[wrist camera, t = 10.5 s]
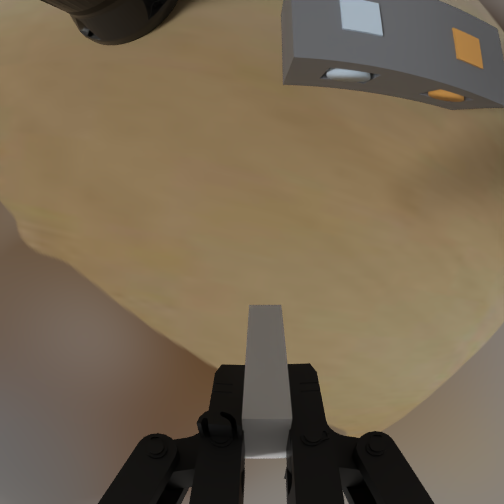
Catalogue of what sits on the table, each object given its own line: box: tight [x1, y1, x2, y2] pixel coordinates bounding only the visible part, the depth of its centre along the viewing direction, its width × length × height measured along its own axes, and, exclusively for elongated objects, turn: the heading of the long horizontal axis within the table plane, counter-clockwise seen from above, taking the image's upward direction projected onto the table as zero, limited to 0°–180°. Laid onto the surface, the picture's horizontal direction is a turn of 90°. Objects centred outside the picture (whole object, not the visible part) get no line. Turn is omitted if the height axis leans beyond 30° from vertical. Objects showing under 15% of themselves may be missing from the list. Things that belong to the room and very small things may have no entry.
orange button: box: [428, 89, 464, 102], centre depth 23 cm, size 4×4×4 cm
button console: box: [281, 0, 504, 110], centre depth 23 cm, size 10×24×12 cm, turn 90°
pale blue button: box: [326, 68, 370, 82], centre depth 23 cm, size 4×4×4 cm
